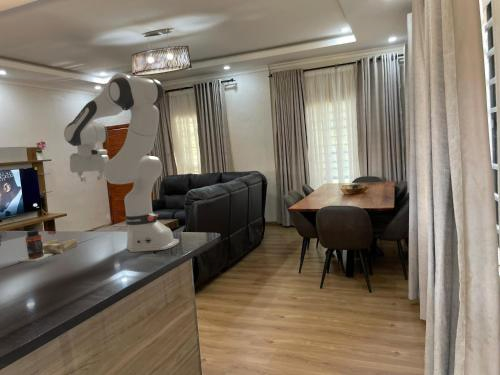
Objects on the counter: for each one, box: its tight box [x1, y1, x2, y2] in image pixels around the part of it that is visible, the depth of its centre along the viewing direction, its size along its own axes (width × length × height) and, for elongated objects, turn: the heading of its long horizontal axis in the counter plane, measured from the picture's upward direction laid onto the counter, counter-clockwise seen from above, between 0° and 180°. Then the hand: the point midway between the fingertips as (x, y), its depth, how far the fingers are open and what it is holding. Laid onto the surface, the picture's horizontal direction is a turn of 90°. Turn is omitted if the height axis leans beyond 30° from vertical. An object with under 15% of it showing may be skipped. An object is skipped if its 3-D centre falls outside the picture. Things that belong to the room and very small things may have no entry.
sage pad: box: [18, 253, 54, 262], centre depth 164 cm, size 9×9×1 cm
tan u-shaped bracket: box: [42, 238, 78, 254], centre depth 176 cm, size 13×10×4 cm
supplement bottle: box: [25, 229, 45, 259], centre depth 163 cm, size 6×6×11 cm
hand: (91, 180), depth 186 cm, fingers open, 8 cm apart
